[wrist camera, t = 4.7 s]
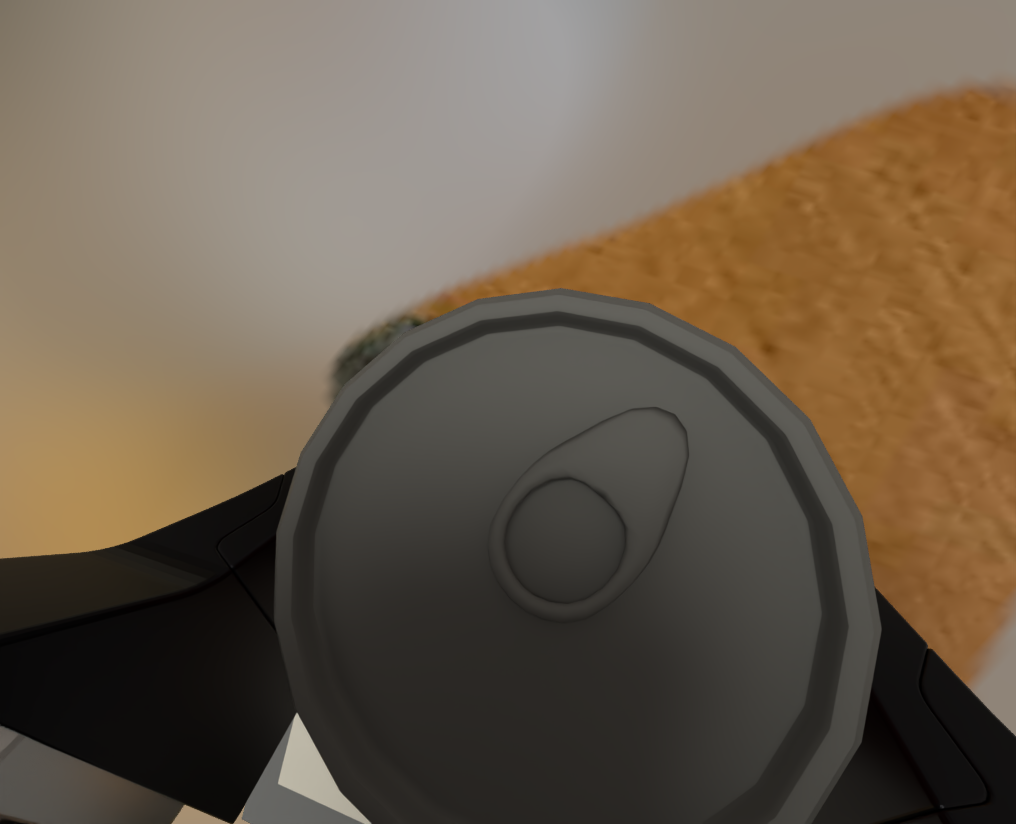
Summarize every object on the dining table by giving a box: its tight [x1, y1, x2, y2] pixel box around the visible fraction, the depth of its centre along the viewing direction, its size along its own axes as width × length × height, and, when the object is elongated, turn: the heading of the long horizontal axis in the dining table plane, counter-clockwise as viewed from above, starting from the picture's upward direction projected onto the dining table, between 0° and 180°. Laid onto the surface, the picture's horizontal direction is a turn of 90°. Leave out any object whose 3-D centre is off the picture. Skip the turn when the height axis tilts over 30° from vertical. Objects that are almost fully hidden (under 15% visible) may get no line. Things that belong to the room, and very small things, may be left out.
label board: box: [242, 713, 371, 824], centre depth 16 cm, size 11×17×1 cm, turn 78°
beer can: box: [274, 288, 882, 824], centre depth 10 cm, size 7×7×12 cm
